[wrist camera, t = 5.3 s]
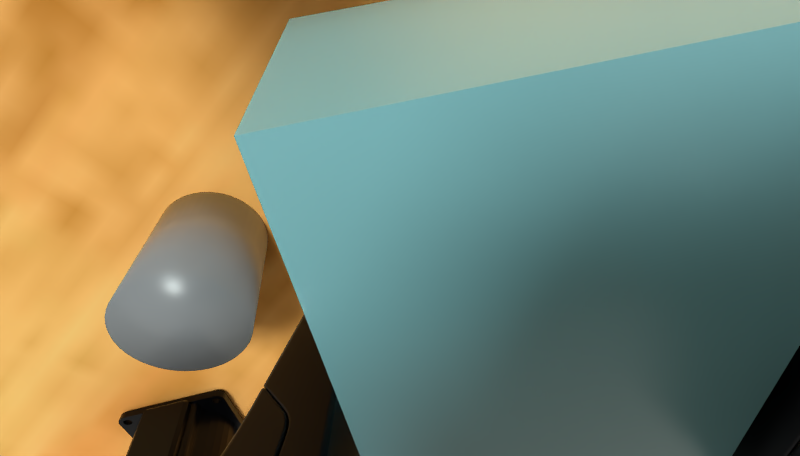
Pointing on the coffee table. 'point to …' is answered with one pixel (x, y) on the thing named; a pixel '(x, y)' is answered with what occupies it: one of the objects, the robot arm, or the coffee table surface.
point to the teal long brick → (539, 218)
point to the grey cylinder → (192, 285)
